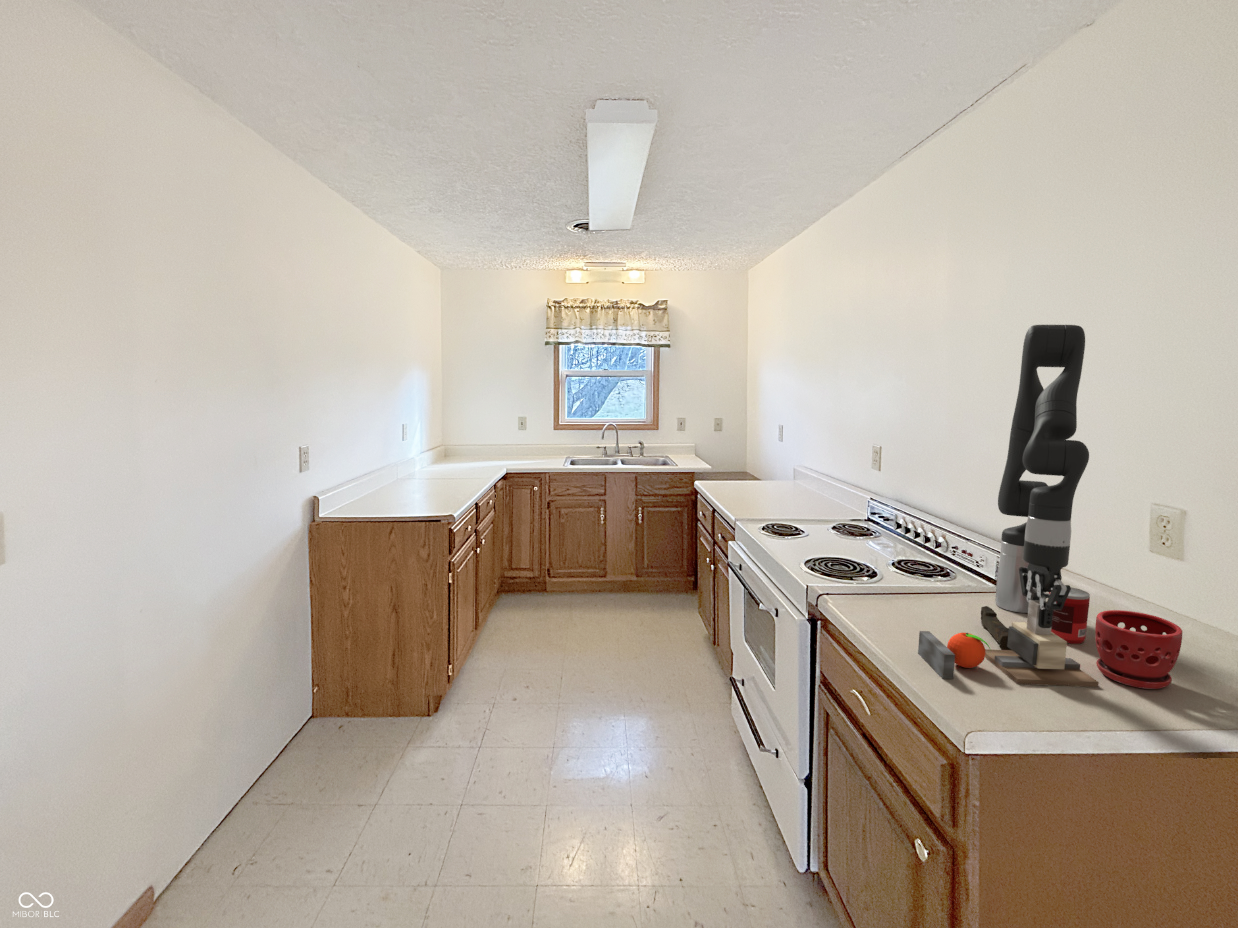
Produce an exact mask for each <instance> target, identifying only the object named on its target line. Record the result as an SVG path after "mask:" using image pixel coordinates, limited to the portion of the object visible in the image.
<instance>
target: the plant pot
mask: <svg viewBox="0 0 1238 928" xmlns="http://www.w3.org/2000/svg"><path fill="white" fill-rule="evenodd" d="M1121 623H1123V624H1124V626H1123V627H1119V624H1121ZM1142 627H1145V628H1146V630H1143V629H1142ZM1132 628H1133V629H1134V630H1135V631H1134V630H1131V629H1132ZM1094 631H1095V637H1094V639H1095V645H1096V650H1097V653H1098V655H1099V658H1097V659H1096V662H1095V663H1096V667H1097V668H1098V671H1100V673H1102V674H1103V675H1104V676H1106V677H1107V678H1109V679H1111V680H1113V681H1115V682H1117V683H1120V684H1123V685H1127V686H1130V687H1134V688H1139V689H1145V690H1147V689H1148V690H1149V689H1150V690H1158V689H1164V688H1166V687H1168V686H1169V685H1170V684H1171V682H1172V678H1173V677H1172V676H1171V674H1170V672H1171V671H1172V670H1173V668H1174V667H1175V665H1176V663H1177V661H1178V658H1179V656H1180V652H1181V647H1182V643H1183V642H1182V641H1183V629H1182V628H1181V627H1180V626H1179V625H1178V624H1176V623H1174V622H1172V621H1169V620H1167V619H1165V618H1162V617H1159V616H1156V615H1152V614H1148V613H1143V612H1138V611H1137V612H1136V611H1131V610H1124V609H1123V610H1122V609H1121V610H1119V609H1113V610H1111V609H1109V610H1108V609H1107V610H1103V611H1100V612H1099V613H1098V614H1096V618H1095V629H1094ZM1164 633H1165V634H1164Z"/></svg>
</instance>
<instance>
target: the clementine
mask: <svg viewBox="0 0 1238 928" xmlns="http://www.w3.org/2000/svg"><path fill="white" fill-rule="evenodd" d="M984 644H985V645H986V646H987V647H988V649H989V650H990V651H991V650H992V649H991V647H990V645H989V644H988V643H987V642H986V641H985V640H984V638H982V637H979V636H978V635H975V634H972V633H969V632H958V633H955V634H954V635H953V636H951V637H950V639H949V640H948V641H947V645H946V647H947V648H948V649H949V650H950V651H952V652H953V653H954V654H955V664H956V665H957V666H959V667H963V668H965V669H971V668H972V669H973V668H975V667H978V666H979V665H981V664H982V663H983V662H984V660H985V659H986V658H985V654H986V653H985V649H986V648H985V645H984Z"/></svg>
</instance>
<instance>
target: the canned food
mask: <svg viewBox="0 0 1238 928" xmlns="http://www.w3.org/2000/svg"><path fill="white" fill-rule="evenodd" d="M1070 587H1071V590H1070V593H1069V595H1068V597H1067V599H1066V601H1065V604H1064V606H1063V608H1062V610H1054V611H1053V618H1052V627H1051V632H1052V633H1054V634H1055V635H1057V636H1059V637H1060V638H1062V639H1063V640H1065V641H1067V644H1070V645H1073V644H1075V645H1077V644H1082V643H1084V642H1085V639H1086V635H1087V627H1088V619H1089V611H1090V610H1089V608H1090V597H1091V595H1090V593H1089V592H1088V591H1085V590H1083V589H1081V588H1077V587H1072V586H1070ZM1050 593H1051V592H1048V594H1050ZM1056 604H1057V601H1056Z"/></svg>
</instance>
